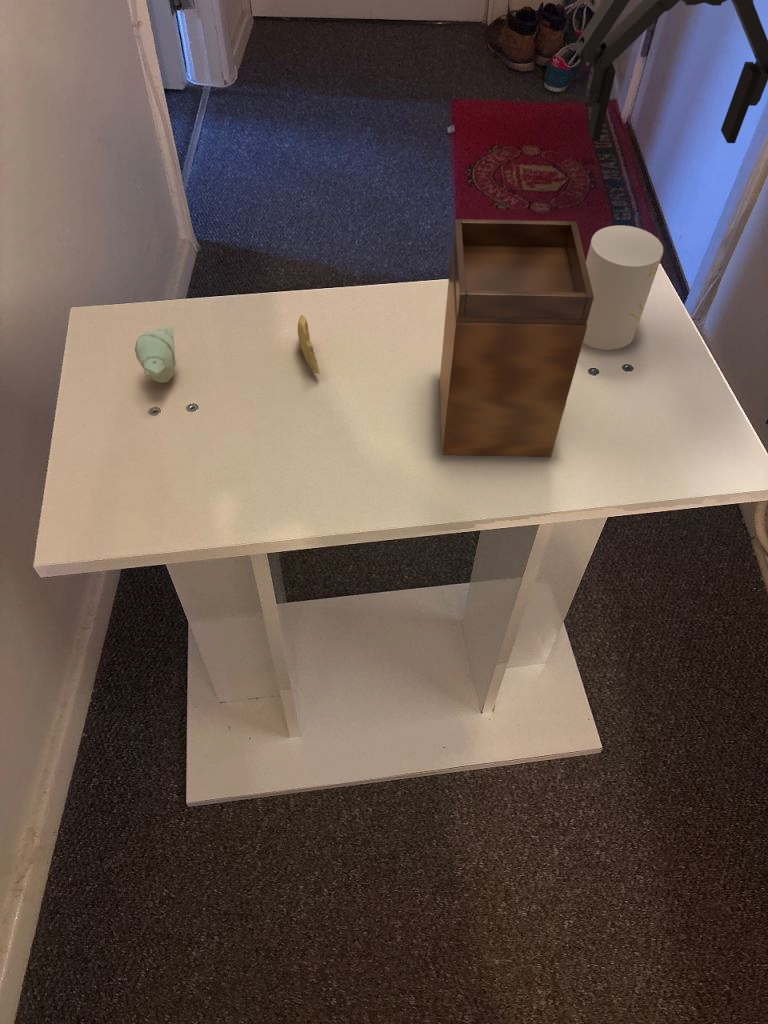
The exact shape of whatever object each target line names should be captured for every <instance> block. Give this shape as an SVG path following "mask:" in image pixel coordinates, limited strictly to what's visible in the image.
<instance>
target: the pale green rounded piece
mask: <svg viewBox="0 0 768 1024" xmlns="http://www.w3.org/2000/svg"><path fill="white" fill-rule="evenodd" d="M174 327H175V326H159V327H158V328H157V329H155V330H152V331H151V330H149V331H148V330H147V331H144V332H143V333H141V334H140V335H139V336H138V338H137V340H136V342H135V347H134V352H135V355H136V356H135V357H136V359H137V361H138V363H139V364H140V365H141V367H142V369H143V370H144V374H145V375H147V376H149V377H150V378H151V379H152V380H154V381H155V382H158V383H161V384H163V383H168V382H169V381H170V379H172V377H173V374H174V373H175V368H176V352H175V351H176V349H175V331H174V330H175V328H174Z"/></svg>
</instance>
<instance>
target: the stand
mask: <svg viewBox="0 0 768 1024" xmlns="http://www.w3.org/2000/svg"><path fill="white" fill-rule="evenodd" d="M450 249H451V250H450V260H449V261H450V262H449V271H448V282H447V294H446V304H445V305H446V306H445V315H444V325H443V326H444V327H443V337H442V350H441V360H440V370H439V371H440V373H439V393H440V394H439V399H440V403H439V404H440V427H441V428H440V430H441V431H440V432H441V454H442V455H450V456H451V455H455V456H458V455H459V456H495V457H496V456H499V457H500V456H501V457H502V456H503V457H506V456H507V457H547V458H548V457H552V455H553V451H554V447H555V445H556V441H557V436H558V433H559V430H560V426H561V424H562V419H563V415H564V411H565V408H566V404H567V400H568V397H569V393H570V390H571V387H572V383H573V379H574V375H575V372H576V369H577V365H578V361H579V358H580V355H581V350H582V347H583V345H584V344H583V340H584V337H585V333H586V329H587V324H586V325H577V324H527V323H477V322H457V313H456V296H455V278H454V261H453V246H451V248H450Z"/></svg>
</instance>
